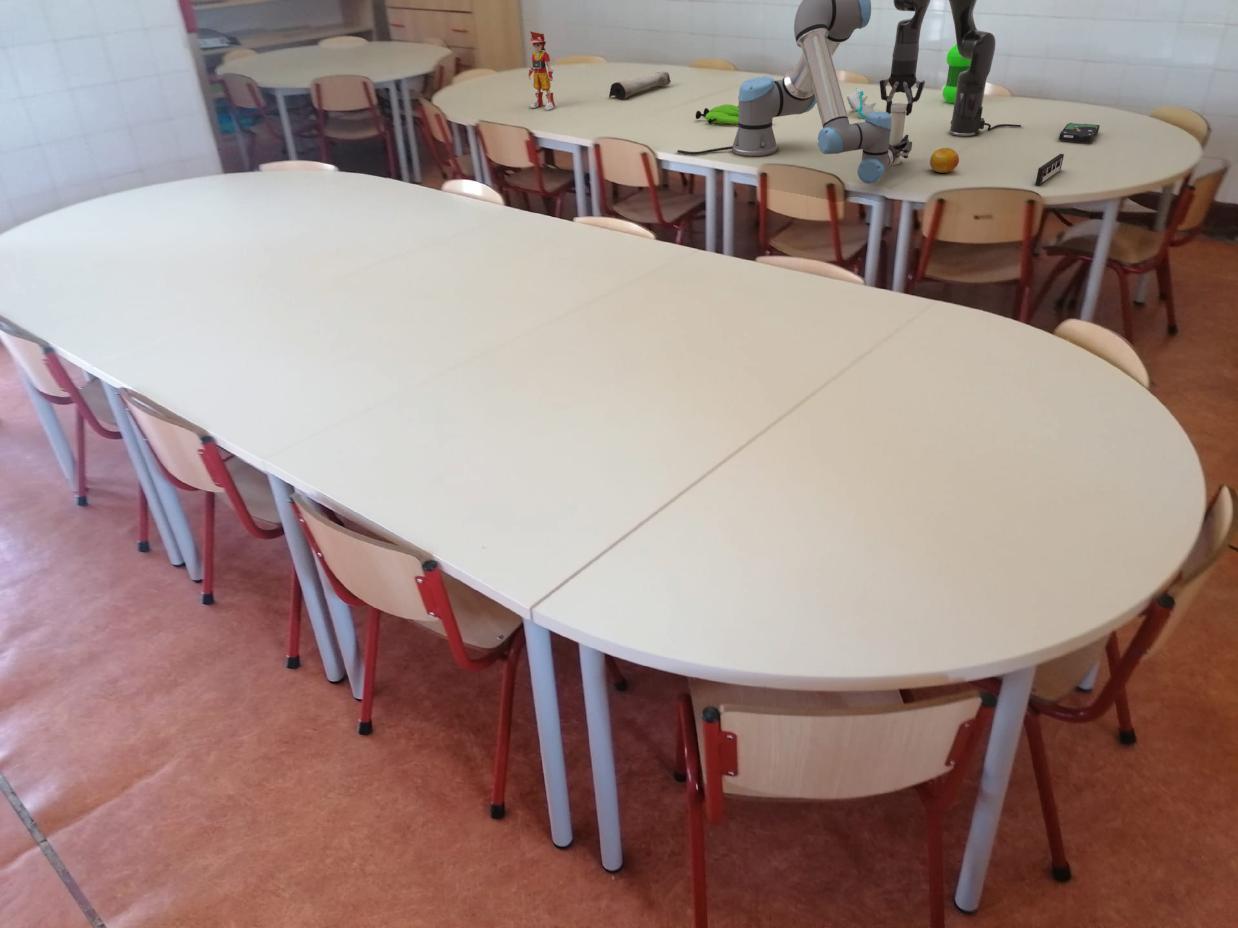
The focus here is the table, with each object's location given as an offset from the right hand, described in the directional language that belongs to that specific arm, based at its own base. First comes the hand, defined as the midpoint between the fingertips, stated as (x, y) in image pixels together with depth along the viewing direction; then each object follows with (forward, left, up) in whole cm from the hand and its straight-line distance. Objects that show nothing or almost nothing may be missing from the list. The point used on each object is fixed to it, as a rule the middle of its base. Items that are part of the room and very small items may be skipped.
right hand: (898, 114), depth 287 cm
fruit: (-15, +10, -15) cm, 23 cm away
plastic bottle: (-27, -81, -15) cm, 87 cm away
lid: (0, 0, +2) cm, 2 cm away
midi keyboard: (-45, +15, -15) cm, 50 cm away
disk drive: (-63, -30, -15) cm, 72 cm away
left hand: (-2, -5, -9) cm, 10 cm away
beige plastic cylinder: (0, 0, -15) cm, 15 cm away
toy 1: (+141, -75, -15) cm, 161 cm away
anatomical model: (+9, -62, -15) cm, 65 cm away
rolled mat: (+103, -102, -15) cm, 146 cm away
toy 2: (+56, -52, -15) cm, 78 cm away
